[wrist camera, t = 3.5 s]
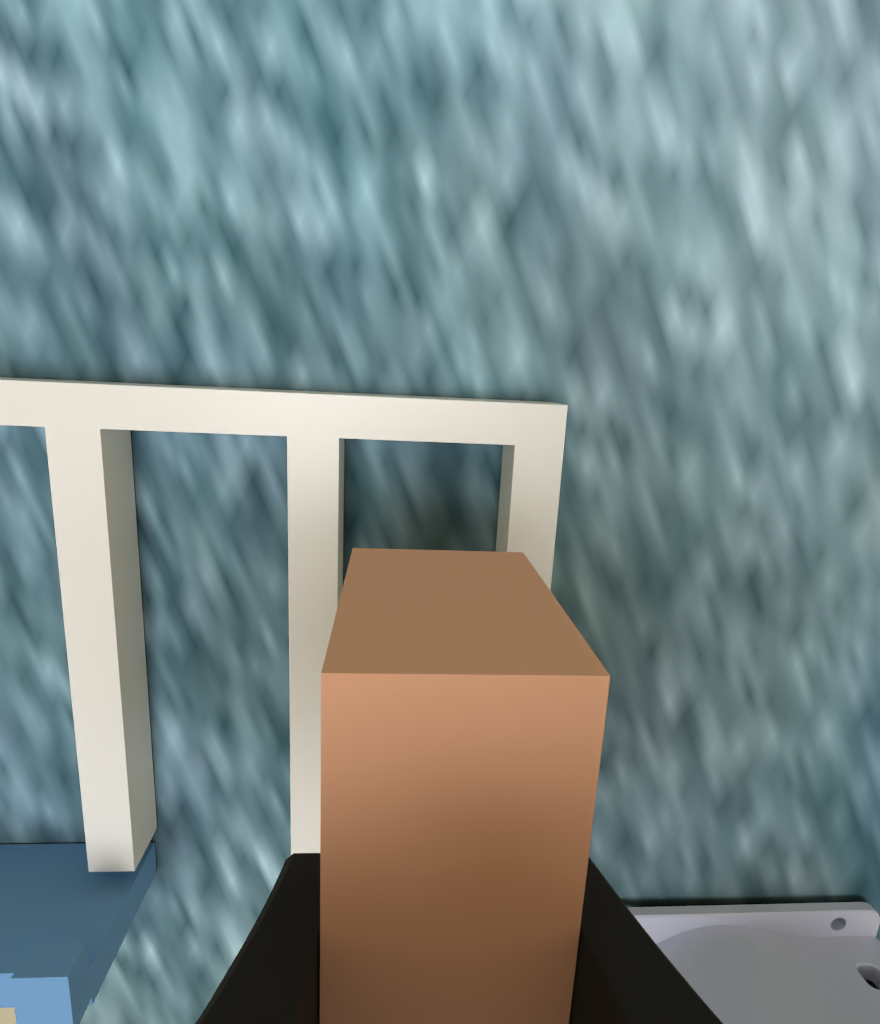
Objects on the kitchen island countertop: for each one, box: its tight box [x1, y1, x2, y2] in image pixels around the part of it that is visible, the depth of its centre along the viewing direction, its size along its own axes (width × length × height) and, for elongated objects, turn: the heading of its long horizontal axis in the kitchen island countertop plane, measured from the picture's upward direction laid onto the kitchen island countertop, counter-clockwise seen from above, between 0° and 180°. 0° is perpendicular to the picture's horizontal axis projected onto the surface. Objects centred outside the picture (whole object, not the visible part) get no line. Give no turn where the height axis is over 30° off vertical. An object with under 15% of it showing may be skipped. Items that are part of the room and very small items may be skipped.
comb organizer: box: [0, 377, 568, 872], centre depth 16 cm, size 17×13×2 cm
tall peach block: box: [320, 548, 610, 1024], centre depth 9 cm, size 3×9×4 cm, turn 177°
